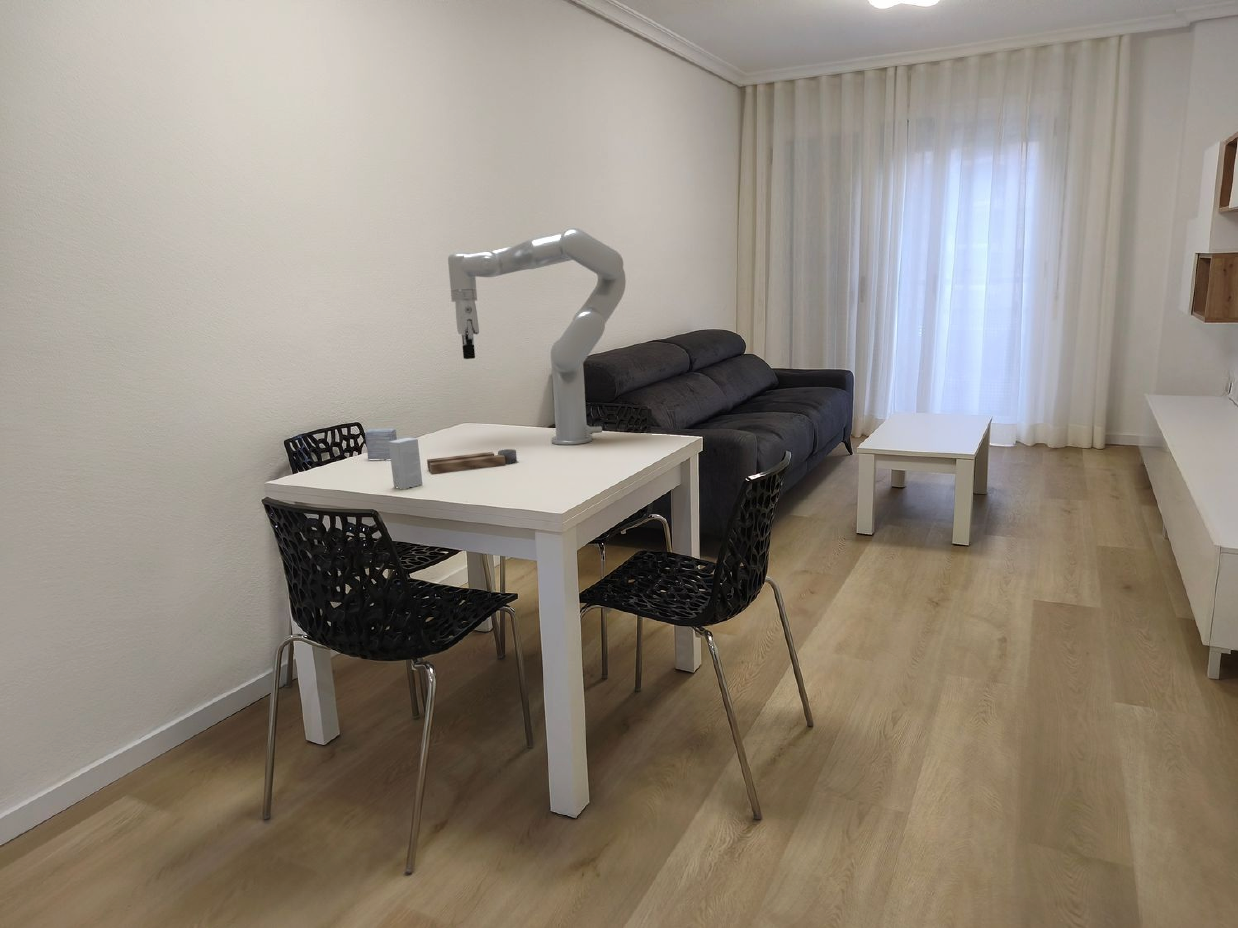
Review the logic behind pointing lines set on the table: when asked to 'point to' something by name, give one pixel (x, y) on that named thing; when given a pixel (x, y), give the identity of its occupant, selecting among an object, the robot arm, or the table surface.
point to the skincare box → (405, 463)
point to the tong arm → (458, 457)
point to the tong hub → (475, 462)
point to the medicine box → (379, 443)
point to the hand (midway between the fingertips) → (469, 358)
